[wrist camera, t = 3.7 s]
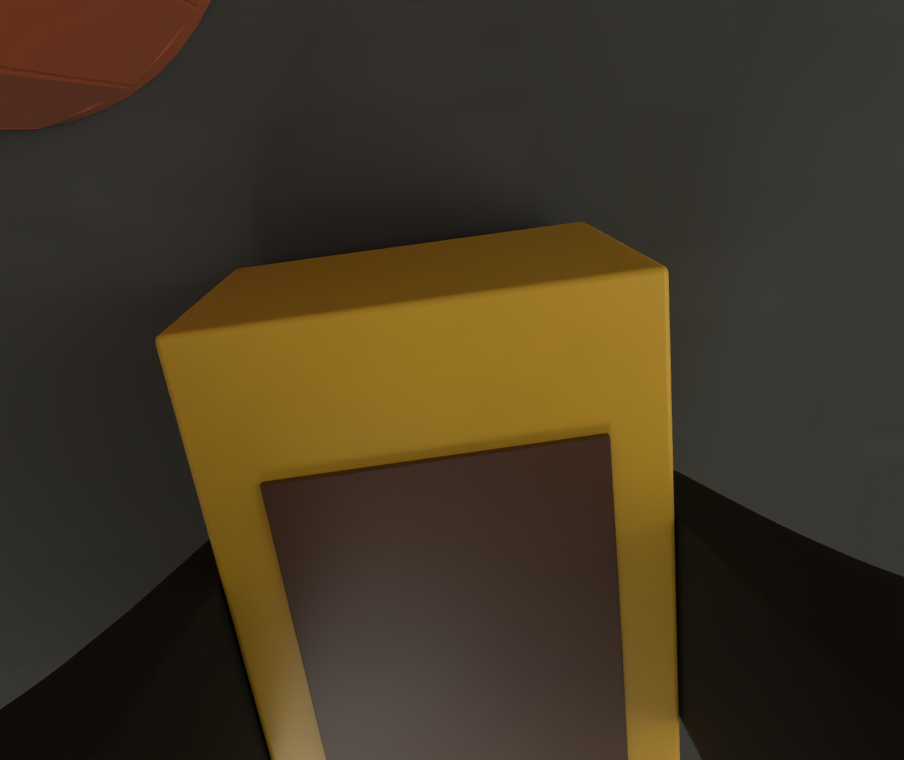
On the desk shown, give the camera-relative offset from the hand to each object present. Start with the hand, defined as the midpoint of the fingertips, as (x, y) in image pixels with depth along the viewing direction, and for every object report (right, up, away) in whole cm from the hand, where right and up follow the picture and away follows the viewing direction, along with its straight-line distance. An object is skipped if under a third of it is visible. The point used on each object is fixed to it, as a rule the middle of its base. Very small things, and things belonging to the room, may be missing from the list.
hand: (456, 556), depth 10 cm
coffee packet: (0, 0, +1) cm, 1 cm away
